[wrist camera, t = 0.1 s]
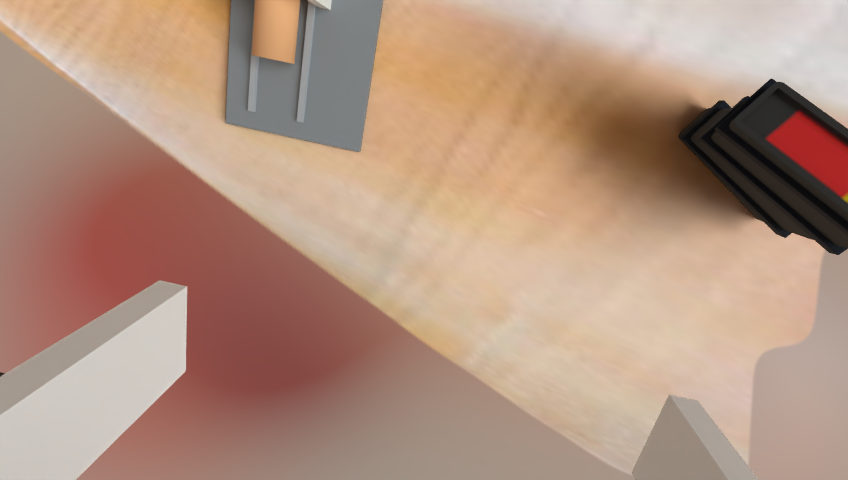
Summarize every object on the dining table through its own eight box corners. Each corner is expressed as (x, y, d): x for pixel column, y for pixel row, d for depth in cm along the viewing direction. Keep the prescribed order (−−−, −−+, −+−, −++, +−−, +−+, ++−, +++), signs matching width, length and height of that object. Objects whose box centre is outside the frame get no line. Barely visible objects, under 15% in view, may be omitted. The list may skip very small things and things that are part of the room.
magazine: (791, 254, 36) (904, 265, 22) (666, 149, 39) (696, 103, 26) (833, 222, 35) (980, 214, 21) (701, 118, 38) (752, 51, 24)
